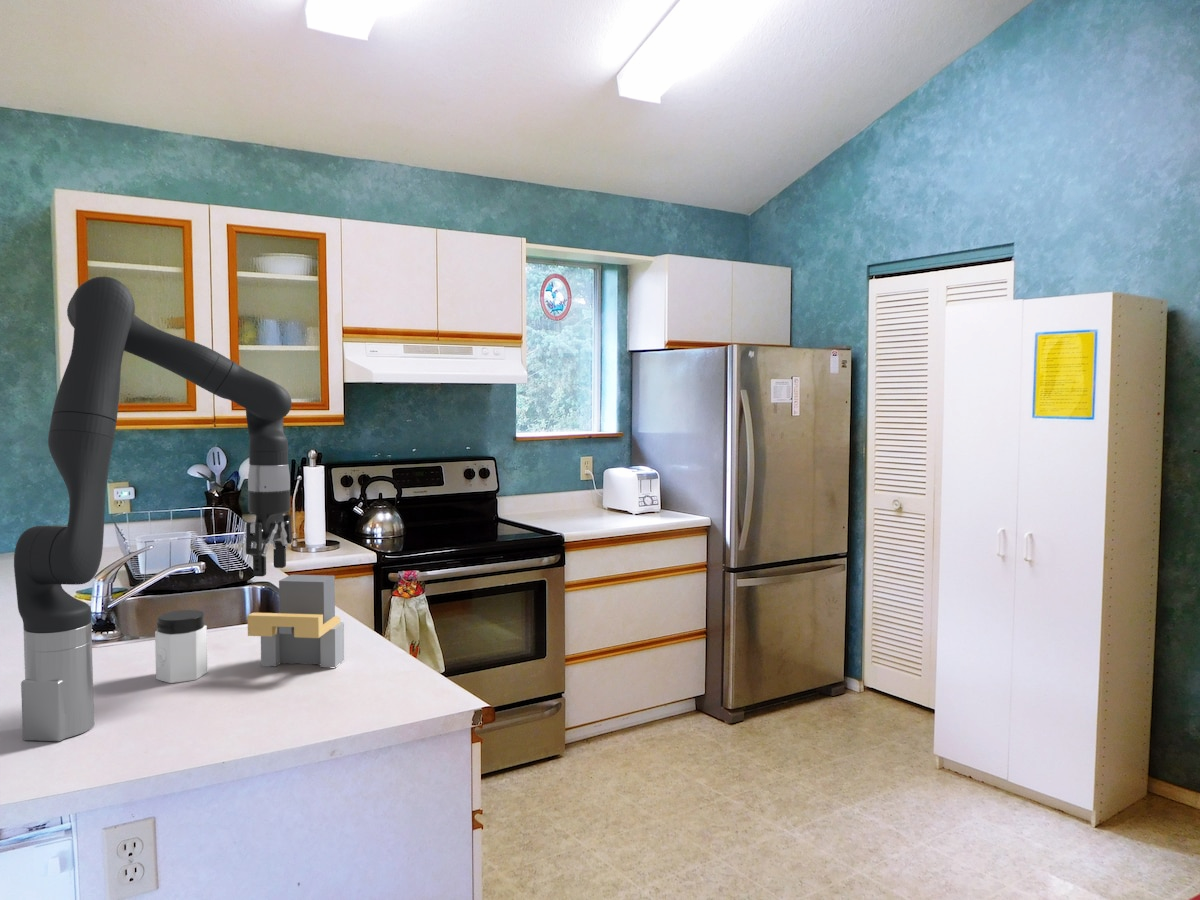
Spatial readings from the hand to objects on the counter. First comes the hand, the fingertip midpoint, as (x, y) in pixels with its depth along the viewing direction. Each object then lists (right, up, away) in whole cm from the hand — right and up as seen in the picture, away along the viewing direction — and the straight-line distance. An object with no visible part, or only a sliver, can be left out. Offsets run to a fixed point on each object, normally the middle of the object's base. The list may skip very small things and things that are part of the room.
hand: (270, 571), depth 163 cm
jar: (-17, -21, +1) cm, 27 cm away
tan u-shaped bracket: (+3, -12, +5) cm, 14 cm away
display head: (+3, -20, +8) cm, 22 cm away
